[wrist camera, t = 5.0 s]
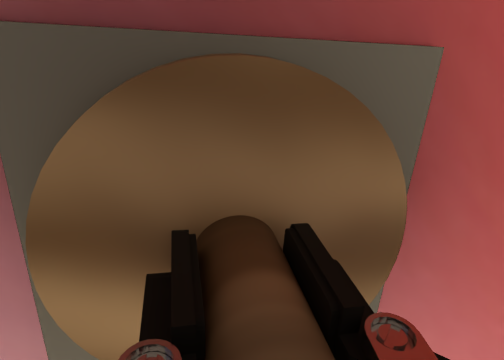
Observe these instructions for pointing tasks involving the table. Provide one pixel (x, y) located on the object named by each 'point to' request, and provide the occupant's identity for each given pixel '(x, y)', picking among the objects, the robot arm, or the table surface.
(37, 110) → the mat
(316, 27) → the table surface
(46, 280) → the lid
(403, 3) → the table surface
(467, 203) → the table surface
